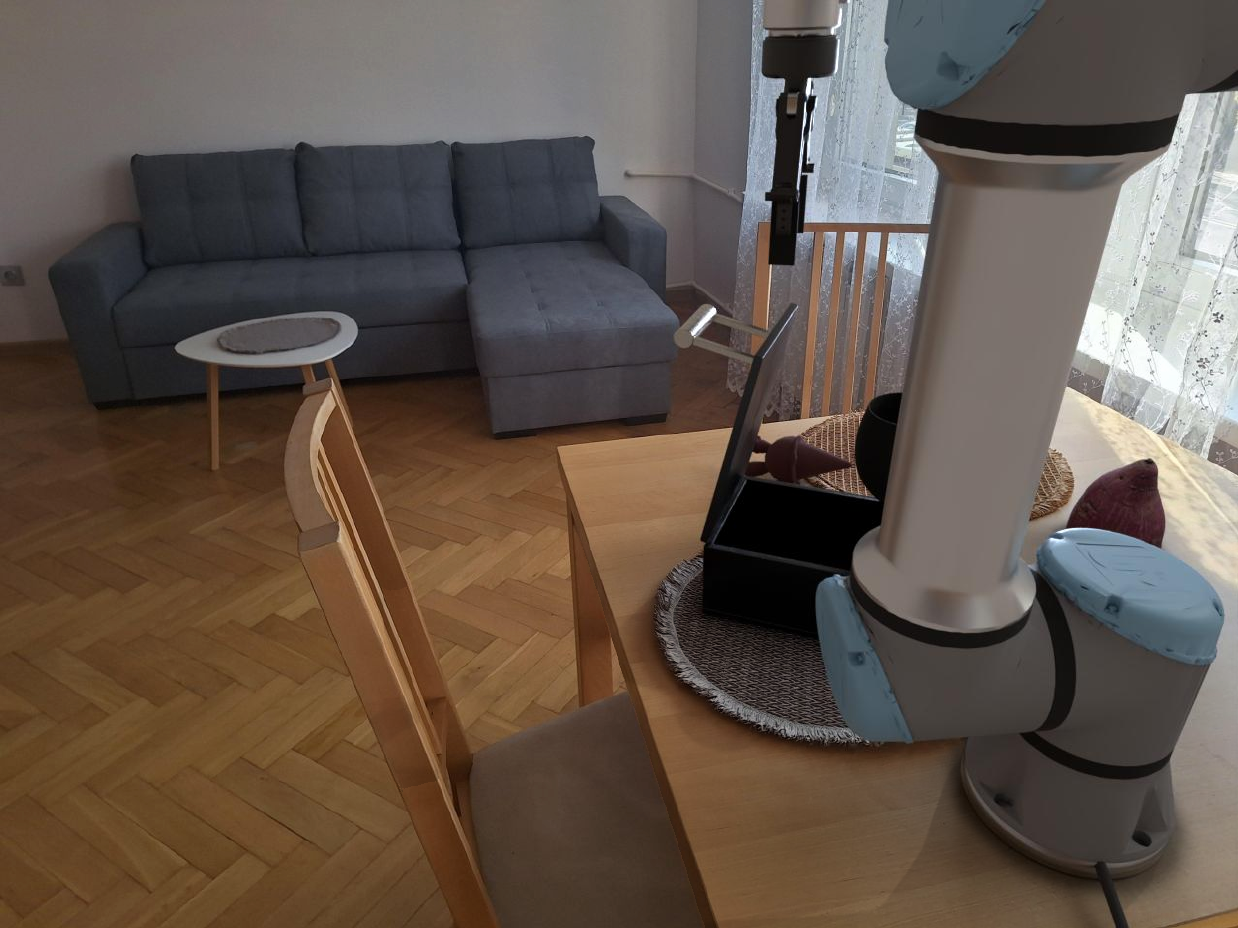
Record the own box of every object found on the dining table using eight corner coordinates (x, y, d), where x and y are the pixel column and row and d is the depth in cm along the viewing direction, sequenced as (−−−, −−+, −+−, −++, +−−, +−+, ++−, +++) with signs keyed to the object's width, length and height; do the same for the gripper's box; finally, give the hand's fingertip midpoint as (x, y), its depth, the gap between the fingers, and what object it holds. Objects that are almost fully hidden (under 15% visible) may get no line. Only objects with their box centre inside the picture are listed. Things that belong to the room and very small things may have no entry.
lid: (798, 304, 86) (714, 278, 88) (763, 358, 73) (665, 326, 75) (745, 472, 97) (672, 445, 100) (707, 543, 85) (624, 511, 87)
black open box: (914, 570, 95) (926, 505, 91) (900, 658, 82) (912, 587, 78) (739, 537, 102) (742, 475, 98) (701, 613, 90) (703, 546, 85)
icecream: (857, 433, 111) (748, 426, 117) (849, 444, 105) (734, 436, 111) (854, 483, 113) (747, 473, 119) (846, 497, 106) (733, 486, 112)
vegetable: (1158, 596, 94) (1232, 507, 84) (1063, 578, 96) (1124, 488, 85) (1137, 528, 102) (1203, 439, 91) (1049, 512, 103) (1104, 422, 93)
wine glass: (835, 584, 93) (854, 424, 83) (846, 534, 101) (864, 384, 92) (933, 602, 90) (965, 437, 80) (936, 549, 98) (965, 394, 88)
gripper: (836, 38, 71) (815, 281, 81) (843, 27, 92) (826, 222, 102) (747, 40, 72) (738, 278, 83) (775, 29, 93) (764, 220, 104)
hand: (786, 247), depth 92 cm, fingers open, 13 cm apart
